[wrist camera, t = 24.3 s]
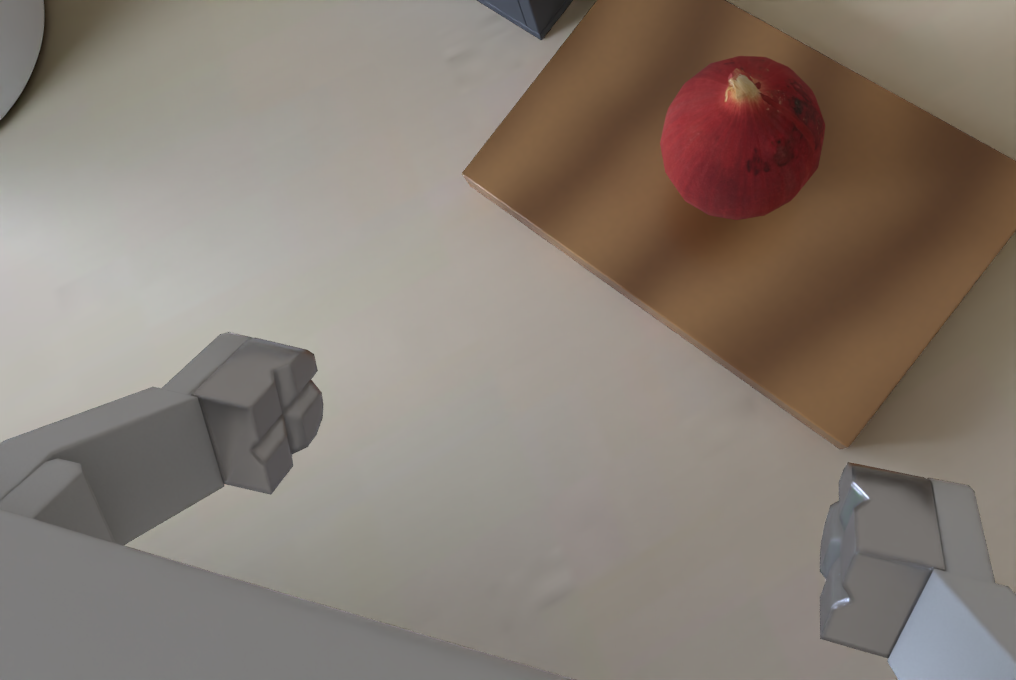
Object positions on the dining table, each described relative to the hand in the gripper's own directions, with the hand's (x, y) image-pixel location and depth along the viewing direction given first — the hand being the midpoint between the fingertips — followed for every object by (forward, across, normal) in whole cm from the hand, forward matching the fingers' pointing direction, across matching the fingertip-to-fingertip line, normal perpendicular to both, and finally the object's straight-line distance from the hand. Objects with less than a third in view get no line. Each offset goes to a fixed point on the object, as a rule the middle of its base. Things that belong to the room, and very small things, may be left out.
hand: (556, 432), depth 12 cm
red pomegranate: (+24, -2, +6) cm, 24 cm away
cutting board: (+24, -2, +7) cm, 25 cm away
